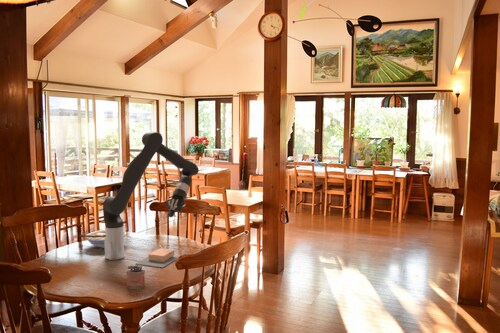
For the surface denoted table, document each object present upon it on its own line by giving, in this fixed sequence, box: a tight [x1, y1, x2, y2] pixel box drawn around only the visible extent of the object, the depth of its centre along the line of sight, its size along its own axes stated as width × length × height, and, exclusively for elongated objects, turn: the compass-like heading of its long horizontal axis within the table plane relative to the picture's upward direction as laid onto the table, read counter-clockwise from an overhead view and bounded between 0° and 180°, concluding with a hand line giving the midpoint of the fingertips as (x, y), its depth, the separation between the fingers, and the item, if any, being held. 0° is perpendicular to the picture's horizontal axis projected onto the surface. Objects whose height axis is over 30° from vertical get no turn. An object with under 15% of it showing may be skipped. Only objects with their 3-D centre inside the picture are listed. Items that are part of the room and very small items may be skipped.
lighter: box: [125, 264, 146, 290], centre depth 178 cm, size 8×3×10 cm, turn 92°
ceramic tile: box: [148, 247, 175, 262], centre depth 216 cm, size 3×9×11 cm
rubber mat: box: [135, 256, 179, 269], centre depth 213 cm, size 16×16×1 cm
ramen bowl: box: [78, 229, 127, 249], centre depth 239 cm, size 25×23×8 cm
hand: (170, 216), depth 227 cm, fingers closed
